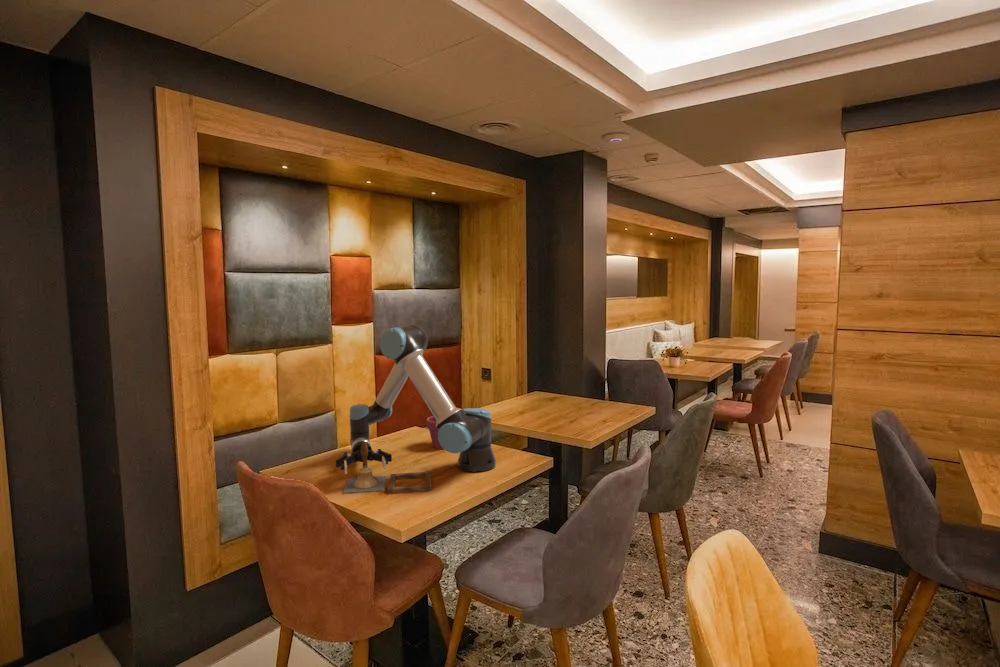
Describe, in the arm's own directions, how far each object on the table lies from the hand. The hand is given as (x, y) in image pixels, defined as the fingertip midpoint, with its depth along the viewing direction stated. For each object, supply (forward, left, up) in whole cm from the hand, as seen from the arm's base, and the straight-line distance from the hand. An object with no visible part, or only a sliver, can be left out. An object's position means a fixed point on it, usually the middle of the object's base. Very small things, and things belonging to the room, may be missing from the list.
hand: (365, 467), depth 182 cm
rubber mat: (+1, -3, -7) cm, 8 cm away
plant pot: (-29, -44, -8) cm, 54 cm away
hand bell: (0, -3, -7) cm, 8 cm away
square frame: (-15, -1, -7) cm, 17 cm away
